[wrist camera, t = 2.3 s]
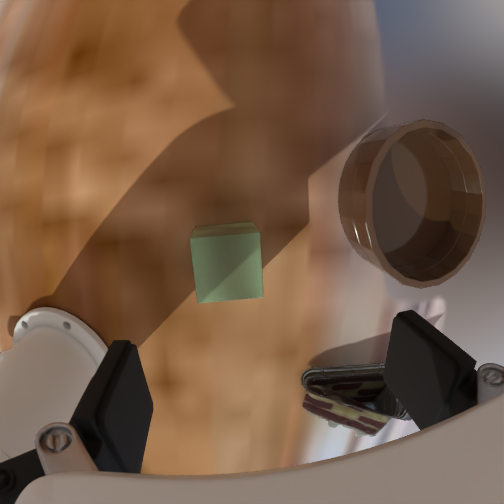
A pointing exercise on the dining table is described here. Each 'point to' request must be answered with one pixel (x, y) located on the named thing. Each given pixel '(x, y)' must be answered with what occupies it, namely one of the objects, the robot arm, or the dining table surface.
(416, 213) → the bowl
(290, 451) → the dining table surface
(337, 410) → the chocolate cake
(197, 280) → the green cube
